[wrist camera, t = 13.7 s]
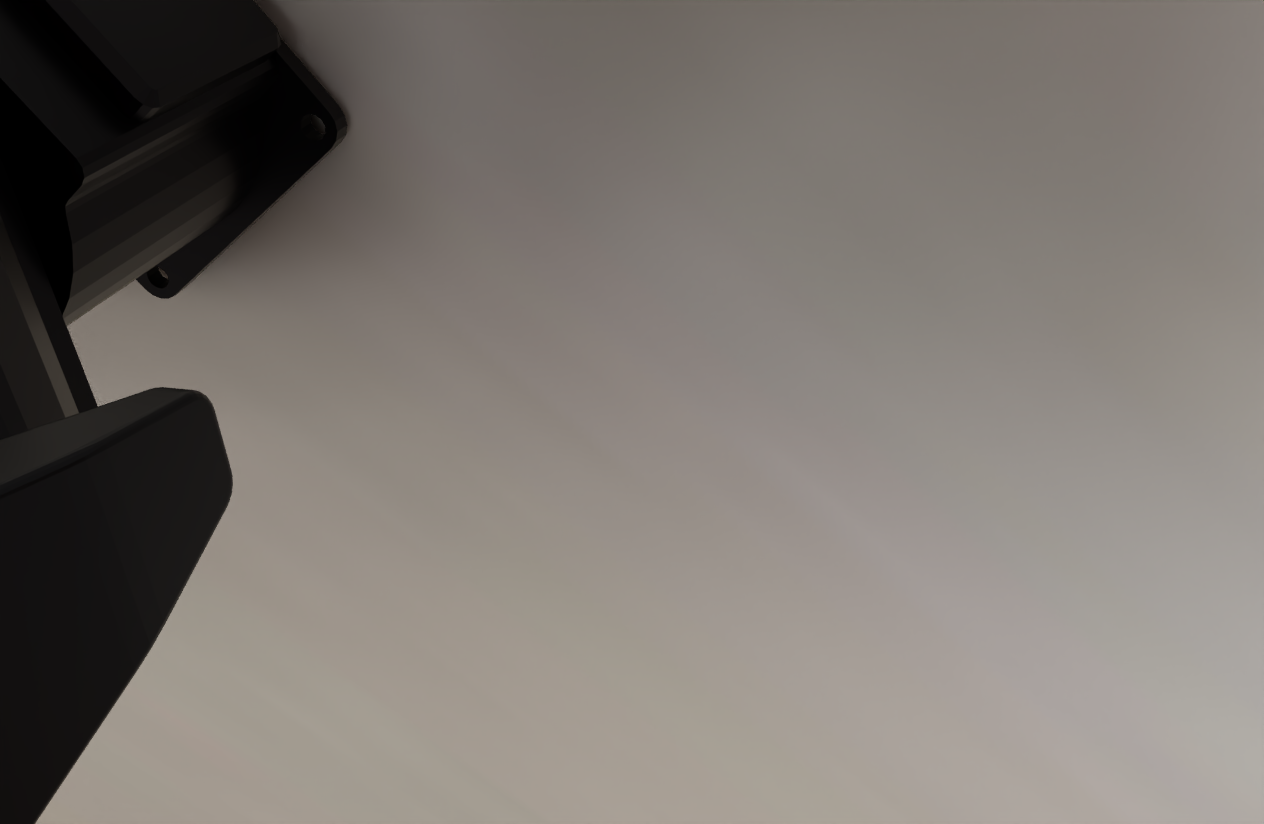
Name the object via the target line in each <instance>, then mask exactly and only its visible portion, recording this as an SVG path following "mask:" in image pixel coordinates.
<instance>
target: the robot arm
mask: <svg viewBox="0 0 1264 824" xmlns="http://www.w3.org/2000/svg"><path fill="white" fill-rule="evenodd" d="M311 114H312V115H316V116H317V117H318V118H320V119H321V120H322V122H323V124H324V125H325V134H322V133H320V132H318V131H317V130H316V129H315V128H314V126H313V125H312V123H311ZM346 130H347V122H346V118H345V115H344V113H343V111H342V110H341V108H340V107H339V105H338V104H337V103H336V102H335V101H334V99H333V98H332V97H331V96H330V95H329V94H328V93H327V91H326V90H325V89H324V88H323V87H322V86H321V84H320V83H319V82H318V81H317V80H316V79H315V77H314V76H313V75H312V74H311V73H310V72H309V71H308V69H307V68H306V67H305V66H304V65H303V64H302V62H301V61H300V60H299V59H298V58H297V57H296V55H295V54H294V53H293V52H292V51H291V50H290V49H289V47H288V46H287V45H286V44H285V43H284V42H283V40H282V39H281V38H280V37H279V34H278V30H277V28H276V26H275V25H274V24H273V23H272V22H271V20H270V19H269V18H268V17H267V16H266V15H265V13H264V12H263V11H262V10H261V9H260V8H259V7H258V5H257V4H256V3H255V2H254V1H253V0H0V824H35V823H36V822H37V820H38V819H39V817H40V816H41V814H42V813H43V811H44V810H45V808H46V807H47V805H48V804H49V802H50V801H51V799H52V798H53V796H54V795H55V793H56V792H57V790H58V789H59V787H60V786H61V784H62V783H63V781H64V780H65V778H66V777H67V775H68V774H69V772H70V771H71V769H72V768H73V766H74V765H75V763H76V762H77V760H78V759H79V757H80V756H81V754H82V753H83V751H84V750H85V748H86V747H87V745H88V744H89V742H90V741H91V739H92V738H93V736H94V735H95V733H96V732H97V730H98V729H99V727H100V726H101V724H102V723H103V721H104V720H105V718H106V717H107V715H108V714H109V712H110V711H111V709H112V708H113V706H114V705H115V703H116V702H117V700H118V699H119V697H120V696H121V694H122V693H123V691H124V690H125V688H126V687H127V685H128V684H129V682H130V681H131V679H132V678H133V676H134V675H135V673H136V672H137V670H138V668H139V667H140V665H141V664H142V662H143V661H144V659H145V657H146V656H147V654H148V653H149V651H150V650H151V648H152V646H153V644H154V643H155V641H156V639H157V637H158V635H159V634H160V632H161V630H162V628H163V627H164V625H165V623H166V621H167V619H168V617H169V615H170V613H171V612H172V610H173V608H174V606H175V604H176V602H177V600H178V598H179V597H180V595H181V593H182V591H183V589H184V587H185V585H186V583H187V581H188V580H189V578H190V576H191V574H192V572H193V570H194V568H195V566H196V564H197V563H198V561H199V559H200V557H201V555H202V553H203V551H204V549H205V547H206V546H207V544H208V542H209V540H210V538H211V536H212V534H213V532H214V530H215V529H216V527H217V525H218V523H219V521H220V519H221V517H222V515H223V513H224V512H225V510H226V508H227V506H228V503H229V501H230V497H231V494H232V486H233V480H232V472H231V468H230V464H229V460H228V457H227V453H226V450H225V446H224V442H223V439H222V435H221V431H220V428H219V424H218V421H217V417H216V413H215V410H214V407H213V405H212V403H211V401H210V400H209V399H208V397H207V396H206V395H204V394H203V393H201V392H199V391H195V390H187V389H176V388H164V387H160V388H153V389H149V390H146V391H143V392H141V393H138V394H135V395H132V396H129V397H126V398H123V399H120V400H117V401H114V402H111V403H108V404H105V405H102V406H99V407H98V406H97V404H96V401H95V398H94V396H93V393H92V391H91V388H90V386H89V383H88V380H87V378H86V375H85V373H84V370H83V367H82V365H81V362H80V360H79V357H78V355H77V352H76V349H75V347H74V344H73V342H72V339H71V337H70V334H69V331H68V329H67V326H68V325H69V324H71V323H72V322H73V321H75V320H76V319H78V318H79V317H81V316H82V315H84V314H85V313H87V312H88V311H90V310H91V309H93V308H94V307H95V306H97V305H98V304H100V303H101V302H103V301H104V300H106V299H107V298H109V297H110V296H112V295H113V294H115V293H116V292H117V291H119V290H120V289H122V288H123V287H125V286H126V285H128V284H129V283H131V282H132V281H134V280H135V279H136V280H137V281H138V282H139V283H140V284H141V285H142V286H143V287H144V288H145V289H146V290H147V291H148V292H150V293H151V294H152V295H154V296H156V297H159V298H171V297H173V296H174V295H176V294H177V293H179V292H180V291H181V290H183V289H184V288H186V287H187V286H188V285H189V284H190V283H191V282H192V281H193V280H194V279H195V278H196V277H197V276H198V275H199V274H201V273H202V272H203V271H204V270H205V269H206V268H207V267H208V266H209V265H210V264H211V263H212V262H213V261H214V260H215V259H217V258H218V257H219V256H220V255H221V254H222V253H223V252H224V251H225V250H226V249H227V248H228V247H229V246H230V245H232V244H233V243H234V242H235V241H236V240H237V239H238V238H239V237H240V236H241V235H242V234H243V233H244V232H245V231H246V230H248V229H249V228H250V227H251V226H252V225H253V224H254V223H255V222H256V221H257V220H258V219H259V218H260V217H261V216H263V215H264V214H265V213H266V212H267V211H268V210H269V209H270V208H271V207H272V206H273V205H274V204H275V203H276V202H277V201H279V200H280V199H281V198H282V197H283V196H284V195H285V194H286V193H287V192H288V191H289V190H290V189H291V188H292V187H294V186H295V185H296V184H297V183H298V182H299V181H300V180H301V179H302V178H303V177H304V176H305V175H306V174H307V173H308V172H310V171H311V170H312V169H313V168H314V167H315V166H316V165H317V164H318V163H319V162H320V161H321V160H322V159H323V158H325V157H326V156H327V155H328V154H329V153H330V152H331V151H332V150H333V149H334V148H335V147H336V146H337V145H338V144H339V143H341V141H342V140H343V138H344V137H345V135H346ZM158 267H160V268H161V269H162V270H164V271H165V273H166V274H167V276H168V279H166V278H165V277H163V276H162V274H161V273H160V271H159V268H158Z"/></svg>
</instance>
